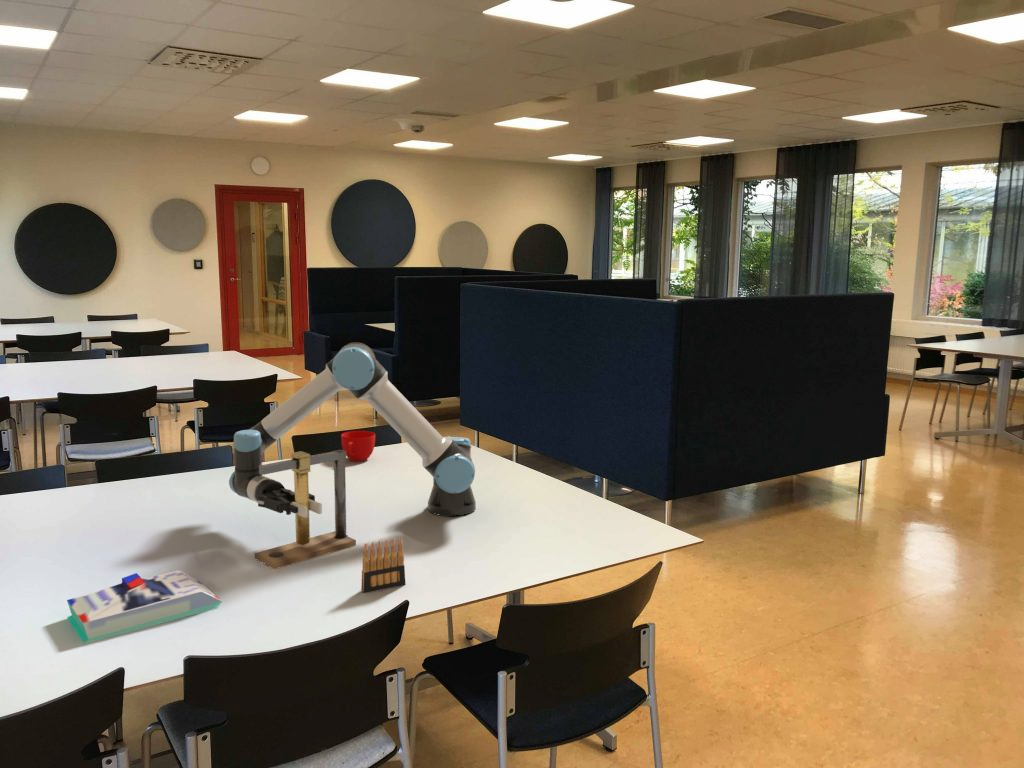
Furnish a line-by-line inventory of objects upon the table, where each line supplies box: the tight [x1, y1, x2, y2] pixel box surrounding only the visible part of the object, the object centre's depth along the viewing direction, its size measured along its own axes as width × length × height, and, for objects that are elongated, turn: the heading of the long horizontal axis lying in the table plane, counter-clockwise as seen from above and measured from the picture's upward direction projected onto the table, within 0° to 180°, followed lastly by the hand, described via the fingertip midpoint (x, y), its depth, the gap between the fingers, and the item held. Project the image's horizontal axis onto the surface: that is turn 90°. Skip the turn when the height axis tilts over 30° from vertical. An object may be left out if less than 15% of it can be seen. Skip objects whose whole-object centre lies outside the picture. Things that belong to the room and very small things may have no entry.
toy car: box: [66, 569, 222, 644], centre depth 182 cm, size 17×30×9 cm, turn 130°
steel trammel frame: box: [259, 449, 347, 538], centre depth 218 cm, size 25×3×24 cm, turn 136°
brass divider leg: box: [291, 450, 311, 545], centre depth 218 cm, size 4×4×25 cm
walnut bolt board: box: [253, 530, 357, 570], centre depth 221 cm, size 25×10×2 cm, turn 136°
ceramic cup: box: [340, 430, 376, 462], centre depth 315 cm, size 13×17×10 cm
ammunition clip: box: [360, 536, 406, 594], centre depth 197 cm, size 11×2×12 cm, turn 120°
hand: (313, 510), depth 214 cm, fingers closed on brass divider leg, 4 cm apart
